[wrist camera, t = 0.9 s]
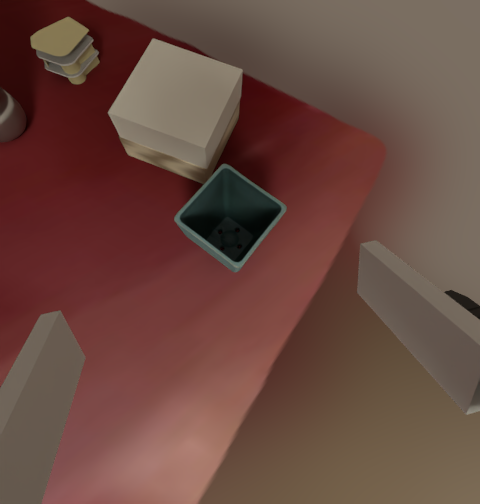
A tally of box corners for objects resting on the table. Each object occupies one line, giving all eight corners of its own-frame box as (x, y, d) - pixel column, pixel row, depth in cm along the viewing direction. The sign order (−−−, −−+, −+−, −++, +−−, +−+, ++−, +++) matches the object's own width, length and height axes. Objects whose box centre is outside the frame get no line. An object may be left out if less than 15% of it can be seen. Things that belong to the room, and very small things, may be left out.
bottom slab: (128, 156, 45) (118, 136, 41) (165, 92, 48) (159, 68, 44) (206, 186, 44) (204, 169, 40) (238, 119, 47) (240, 97, 43)
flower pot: (224, 196, 43) (224, 160, 35) (275, 234, 42) (289, 206, 34) (182, 244, 41) (171, 218, 33) (235, 285, 40) (239, 270, 32)
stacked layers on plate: (78, 36, 50) (61, 0, 45) (121, 64, 49) (109, 31, 44) (31, 76, 48) (7, 43, 42) (75, 107, 47) (56, 77, 41)
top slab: (120, 137, 41) (107, 112, 36) (160, 68, 44) (153, 38, 39) (206, 169, 40) (204, 148, 36) (240, 96, 43) (242, 69, 39)
